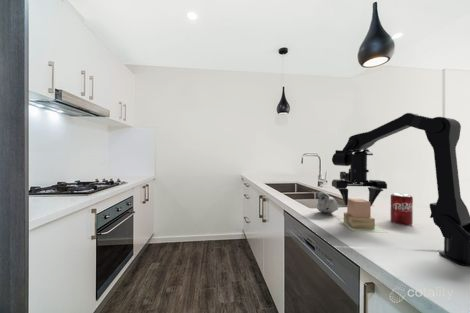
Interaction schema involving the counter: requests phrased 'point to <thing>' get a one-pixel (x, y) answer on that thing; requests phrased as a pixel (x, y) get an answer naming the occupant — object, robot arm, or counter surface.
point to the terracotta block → (359, 208)
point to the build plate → (377, 229)
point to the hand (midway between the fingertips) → (358, 205)
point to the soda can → (401, 209)
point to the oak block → (359, 222)
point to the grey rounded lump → (326, 203)
